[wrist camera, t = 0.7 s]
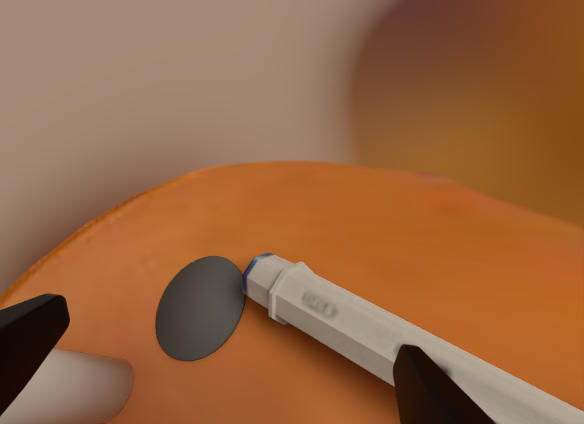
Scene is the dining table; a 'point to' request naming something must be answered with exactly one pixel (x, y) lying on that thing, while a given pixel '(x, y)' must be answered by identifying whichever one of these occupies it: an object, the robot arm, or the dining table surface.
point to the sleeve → (73, 390)
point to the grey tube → (391, 341)
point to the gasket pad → (200, 308)
